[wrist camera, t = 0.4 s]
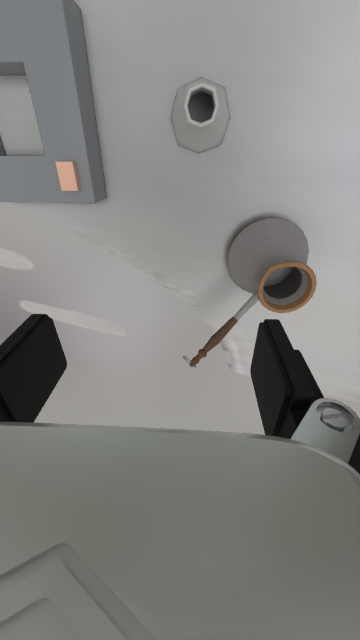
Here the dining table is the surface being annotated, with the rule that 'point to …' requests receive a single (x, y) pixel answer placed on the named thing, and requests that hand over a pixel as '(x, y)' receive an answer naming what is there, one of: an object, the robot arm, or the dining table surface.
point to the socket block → (51, 104)
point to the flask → (200, 115)
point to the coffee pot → (267, 271)
